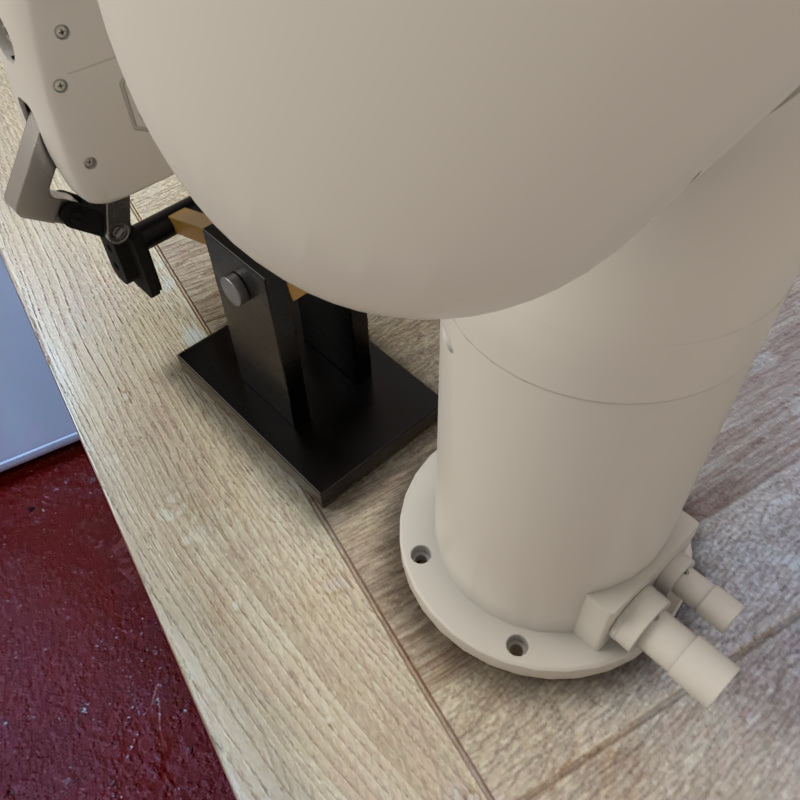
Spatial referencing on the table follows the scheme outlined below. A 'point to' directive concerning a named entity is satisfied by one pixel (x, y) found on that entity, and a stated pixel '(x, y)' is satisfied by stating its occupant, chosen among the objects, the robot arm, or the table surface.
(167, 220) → the lever
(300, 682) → the table surface
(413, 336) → the table surface
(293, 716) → the table surface
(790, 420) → the table surface
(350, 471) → the bracket
